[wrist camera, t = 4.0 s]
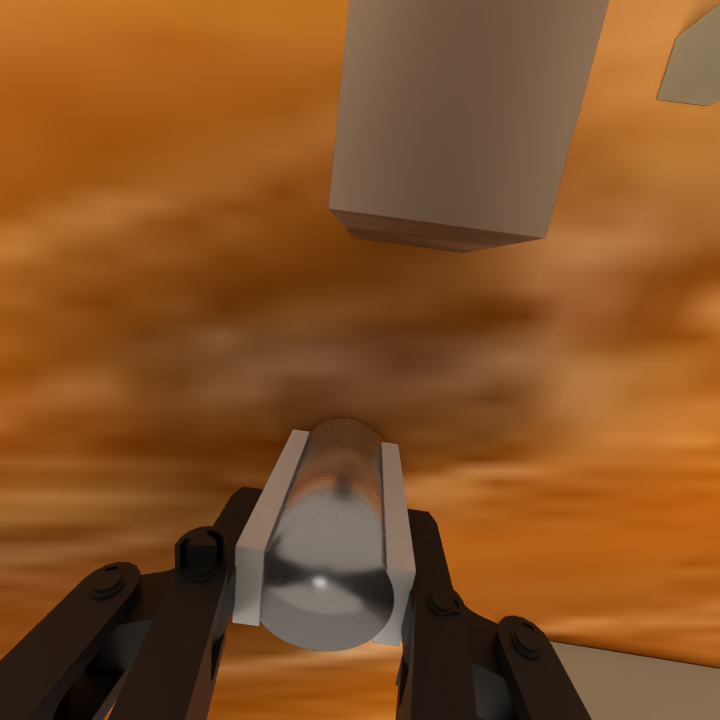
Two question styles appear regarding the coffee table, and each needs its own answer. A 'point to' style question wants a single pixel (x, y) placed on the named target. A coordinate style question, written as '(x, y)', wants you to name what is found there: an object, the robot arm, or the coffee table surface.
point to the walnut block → (458, 117)
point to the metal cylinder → (330, 544)
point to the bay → (625, 671)
